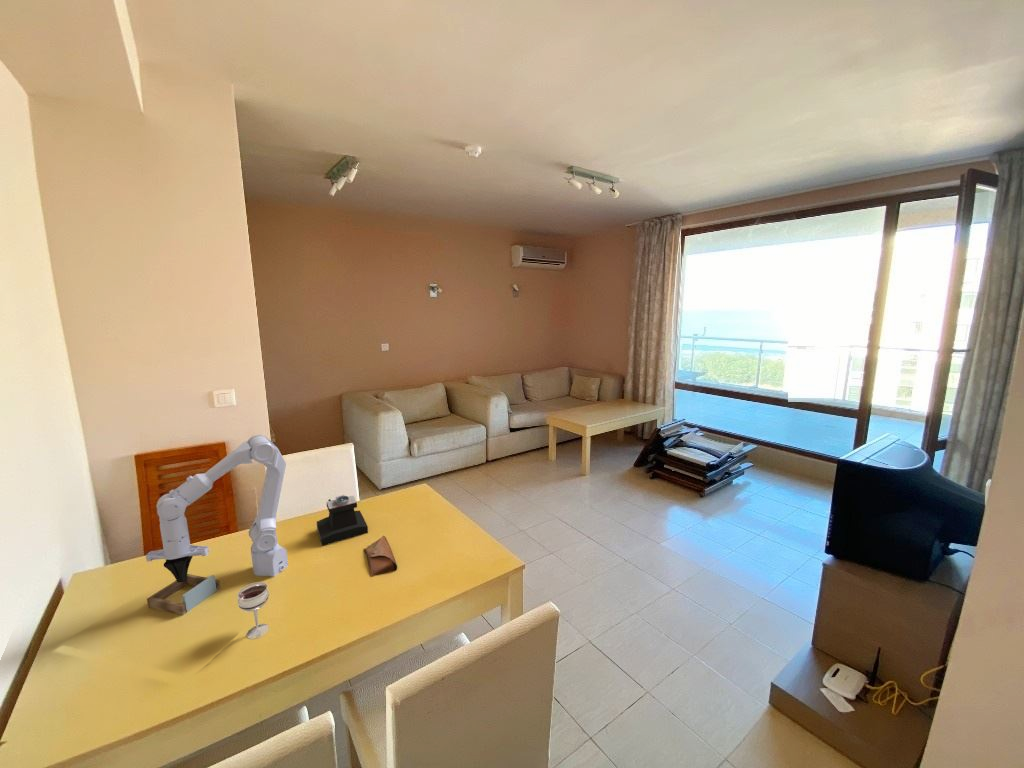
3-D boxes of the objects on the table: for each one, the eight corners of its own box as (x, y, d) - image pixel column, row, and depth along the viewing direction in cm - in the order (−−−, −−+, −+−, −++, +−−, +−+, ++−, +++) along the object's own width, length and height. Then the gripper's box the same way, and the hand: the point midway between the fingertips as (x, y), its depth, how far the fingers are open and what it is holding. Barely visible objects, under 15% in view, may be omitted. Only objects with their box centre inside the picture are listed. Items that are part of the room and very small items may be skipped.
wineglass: (266, 617, 111) (262, 578, 109) (277, 629, 107) (272, 589, 105) (238, 632, 106) (232, 591, 104) (247, 646, 102) (242, 603, 99)
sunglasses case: (361, 548, 143) (370, 530, 143) (379, 552, 146) (388, 535, 147) (370, 578, 127) (380, 558, 128) (390, 582, 131) (400, 563, 131)
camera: (319, 513, 141) (312, 492, 153) (322, 548, 145) (315, 526, 157) (366, 501, 149) (356, 483, 161) (368, 535, 153) (358, 515, 165)
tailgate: (216, 590, 120) (214, 575, 119) (187, 612, 111) (184, 595, 110) (214, 590, 120) (212, 575, 119) (184, 611, 111) (182, 595, 110)
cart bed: (220, 591, 121) (218, 579, 120) (183, 618, 110) (181, 605, 110) (188, 585, 124) (186, 573, 123) (149, 611, 113) (146, 598, 112)
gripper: (212, 526, 118) (217, 568, 121) (154, 531, 116) (162, 574, 118) (198, 539, 112) (205, 583, 114) (137, 545, 109) (145, 590, 111)
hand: (182, 580), depth 116 cm, fingers closed
